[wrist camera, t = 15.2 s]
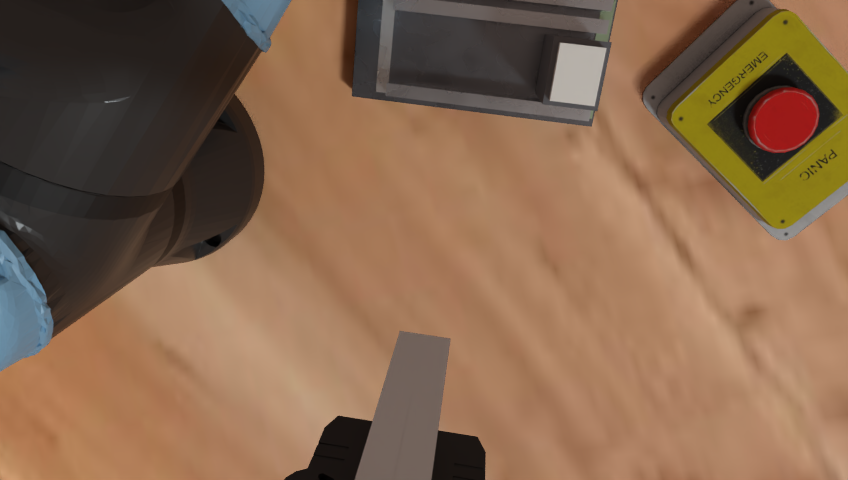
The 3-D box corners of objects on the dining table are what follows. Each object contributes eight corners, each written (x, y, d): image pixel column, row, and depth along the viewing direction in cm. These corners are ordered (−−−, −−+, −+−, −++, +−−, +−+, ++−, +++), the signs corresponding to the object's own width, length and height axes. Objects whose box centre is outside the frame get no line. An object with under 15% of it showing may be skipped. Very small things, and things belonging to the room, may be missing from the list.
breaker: (535, 92, 38) (543, 105, 32) (545, 34, 37) (555, 35, 31) (581, 98, 38) (599, 112, 32) (593, 39, 37) (613, 42, 31)
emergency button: (782, -21, 33) (945, 163, 35) (750, -16, 37) (898, 149, 39) (649, 104, 36) (808, 266, 38) (633, 96, 40) (777, 243, 42)
